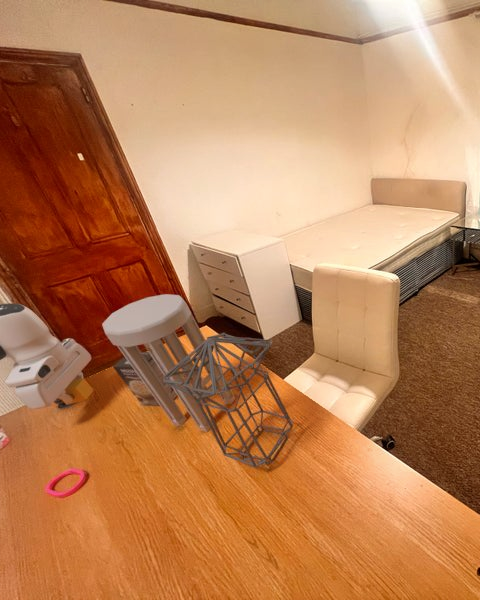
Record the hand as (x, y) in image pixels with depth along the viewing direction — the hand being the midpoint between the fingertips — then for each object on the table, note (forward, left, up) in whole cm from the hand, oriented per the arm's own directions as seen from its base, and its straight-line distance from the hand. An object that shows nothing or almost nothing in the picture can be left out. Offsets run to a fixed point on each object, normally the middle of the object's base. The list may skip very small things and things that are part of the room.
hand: (76, 393), depth 90 cm
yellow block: (0, 0, -2) cm, 2 cm away
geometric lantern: (+54, -30, -7) cm, 62 cm away
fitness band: (+9, -26, -7) cm, 28 cm away
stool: (+36, -13, -7) cm, 39 cm away
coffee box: (+21, -3, -7) cm, 22 cm away
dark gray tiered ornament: (-8, +5, -7) cm, 11 cm away
